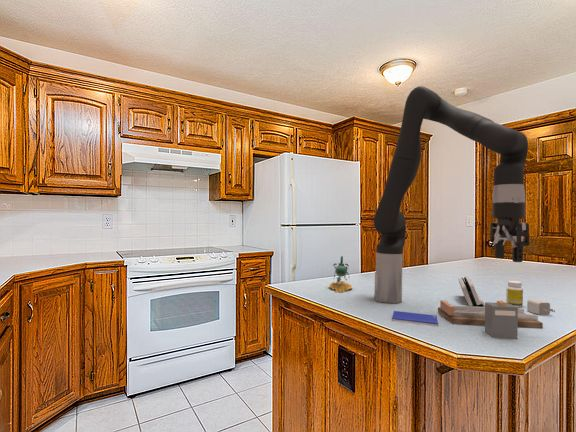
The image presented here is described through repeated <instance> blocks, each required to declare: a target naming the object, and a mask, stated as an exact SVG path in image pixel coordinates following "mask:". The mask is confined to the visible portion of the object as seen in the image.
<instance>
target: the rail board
mask: <svg viewBox="0 0 576 432" xmlns="http://www.w3.org/2000/svg"><path fill="white" fill-rule="evenodd" d="M439 301H440V305H439V307H438V308H437V313H439V315H441V316H442V317H443V318H445V319H446V320H447V321H448V322H449V323H451V324H452V325H467V326H468V325H469V326H485V307H483V306H474V305H473V306H469V305H452V304H451V303H449V302H447V301H446V300H443V299H442V300H439ZM543 327H544V324H543V322H542V321H540V320H539V315H538V314H527V313H525V309H524V308H521V307H518V328H526V329H527V328H528V329H543Z"/></svg>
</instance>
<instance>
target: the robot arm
mask: <svg viewBox="0 0 576 432" xmlns="http://www.w3.org/2000/svg"><path fill="white" fill-rule="evenodd" d="M424 120H427V121H428V120H429V121H431V122H436V123H439V124H442V125H443V126H446V127H448V128H450V129H451V130H453V131H454V132H456V133H457V134H459V135H461V136H463V137H465V138H467V139H470V140H472V142H473V141H474V142H476V143H478V144H481V146H482V147H485V148H486V149H489V150H490V151H492V152H493V153H495V154H498V155H500V156H499V157H500V158H499V163H498V165H496V166H495V167H494V170H493V190H492V218H493V219H495V220H497V221H495V222H493V221H491V222H490V231H489V232H490V233H489V241H490V243H493V245H494V258H496V259H504V258H505V243H506V241H507V240H508V242H510V243H511V246H512V250H511V251H512V254H511V255H512V257H511V258H512V259H511V260H512V262H514V263H522V262H523V260H524V256H523V255H524V248H526V247H529V246H530V225H529V222H521V220H523V219H525V218H526V205H525V204H526V191H525V172H524V171H525V166H526V161H527V157H528V152H529V142H528V141H529V140H528V138H527V136H526V134H524V133H523V132H521V131H519V130H516V129H513V128H511V127H508V126H506V125H502V124H499V123H497V122H495V121H494V120H492V119H490V118H488V117H485V116H483V115H481V114H480V113H479V114H478V113H476V112H473V111H471V110H467V109H463V108H460V107H457V106H454V105H453V104H451V103H449V102H448V101H446V100H445V99H444V98H443V97H441V96H440V95H439V94H438V93H436V92H435V91H434V90H432V89H430V88H429V87H425V86H422V85H421V86H416V87H415V88H413V89H412V90H411V91H410V93H409V94H408V96H407V98H406V101H405V105H404V110H403V114H402V120H401V125H400V126H401V127H400V130H399V134H398V138H397V142H396V146H395V149H394V153H393V156H392V158H391V159H392V160H391V163H390V167H389V171H388V173H387V178H386V181H385V185H384V189H383V193H382V196H381V197H380V201H379V203H378V207H377V209H376V211H375V213H374V217H373V227H374V229H375V230H376V232H377V233H378V234H380V239H379V242H378V243H377V244H376V247H375V249H376V250H375V251H376V253H375V254H376V255H375V272H374V299H375V300H376V302H380V303H386V304H398V303H402V302H403V259H404V257H403V253H404V252H403V251H404V247H405V243H406V231H407V230H406V229H407V227H406V225H407V224H406V221H407V220H406V217H405V215H404V213H403V212H402V211H401V210H400V209H401V206H402V203H403V200H404V197H405V195H406V193H407V192H408V190H409V189H410V187H411V185H412V183H413V182H414V181H415V179H416V176H417V173H418V170H419V168H420V167H419V166H420V164H421V160H422V145H421V144H422V143H421V129H422V125H423V121H424ZM523 239H524V240H523Z"/></svg>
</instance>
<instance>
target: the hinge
mask: <svg viewBox="0 0 576 432" xmlns="http://www.w3.org/2000/svg"><path fill="white" fill-rule="evenodd" d="M457 280H458V283H459V286H460V288H461V291H462V294H463V296H464V298H465V301H466V303H467V304H468V305H467V306H474V305H476V306H479V305H482V307H485V302H484V300H483V299H482V298H481V296H480V295H479V293H478V292H477V291H476V288H475V286H474V284H473V282H472V279H471V278H470V276H468V275H467V276H464V278H463V277H459V278H458V279H457Z"/></svg>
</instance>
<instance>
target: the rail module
mask: <svg viewBox="0 0 576 432" xmlns="http://www.w3.org/2000/svg"><path fill="white" fill-rule="evenodd" d="M484 304H485V325H484V333H485V334H486V335H487V336H489V337H490V338H492V339H493V338H494V339H511V340H518V332H519V331H518V329H519V327H518V308H519V307H516V306H514V305H512V304H510V303H506V302H505V301H503V300H496V302H490V301H488V302H486V301H485V302H484Z"/></svg>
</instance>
